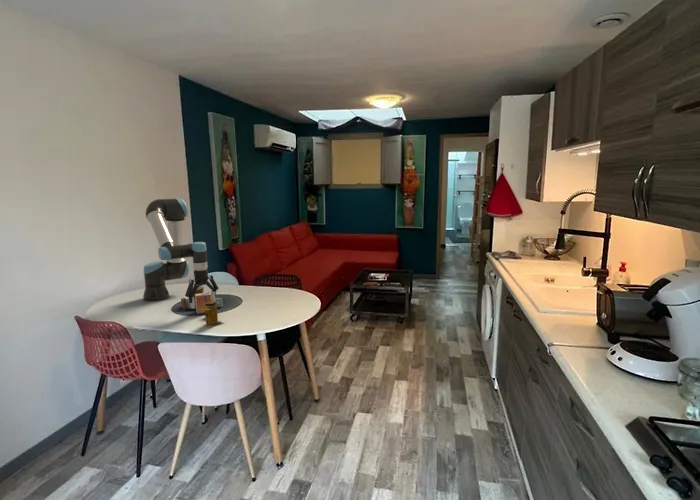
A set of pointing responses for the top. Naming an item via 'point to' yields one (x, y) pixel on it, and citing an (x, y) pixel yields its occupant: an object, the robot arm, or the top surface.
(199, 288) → the disposable coffee cup
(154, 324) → the top surface
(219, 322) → the condiment
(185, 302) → the brown upright pieces
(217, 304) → the door
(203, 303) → the small box
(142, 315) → the top surface
